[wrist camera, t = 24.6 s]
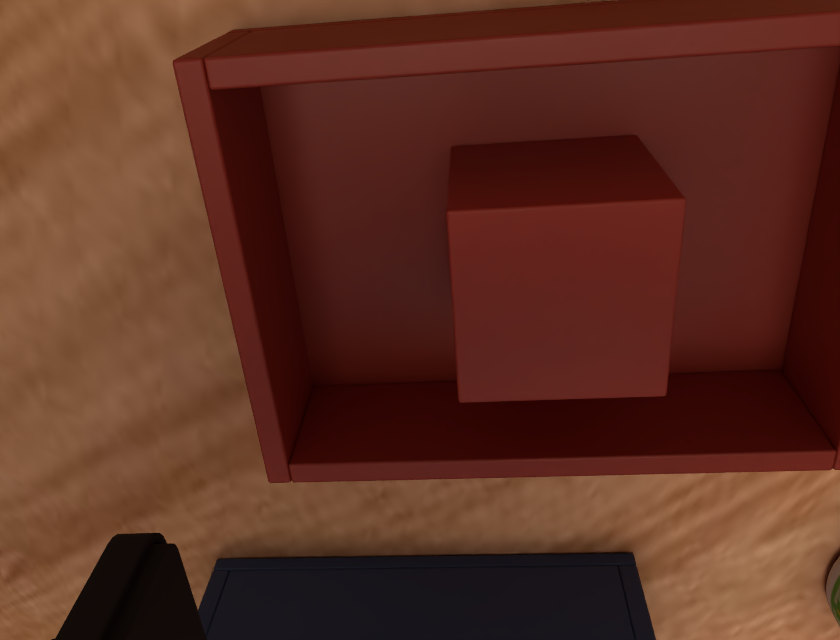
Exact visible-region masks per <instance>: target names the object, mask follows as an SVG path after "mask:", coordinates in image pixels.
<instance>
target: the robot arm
mask: <svg viewBox="0 0 840 640" xmlns="http://www.w3.org/2000/svg"><path fill="white" fill-rule="evenodd" d="M52 640H207V639H206V636H205V632H204V629H203V626H202V623H201V620H200V617H199V613H198V610H197V607H196V604H195V601H194V598H193V594H192V591H191V588H190V585H189V582H188V579H187V575H186V572H185V569H184V566H183V563H182V560H181V557H180V553H179V550H178V548H177V546H176V545H175V544H167V543H166V540H165V538H164V536H163V535H162V534H160V533H136V534H117V535H115V536H114V537H112V539H111V540H110V541H109V543H108V544H107V546H106V548H105V550H104V552H103V554H102V555H101V557H100V559H99V561H98V563H97V564H96V566H95V568H94V570H93V572H92V573H91V575H90V577H89V579H88V581H87V582H86V584H85V586H84V588H83V590H82V591H81V593H80V595H79V597H78V599H77V600H76V602H75V604H74V606H73V608H72V609H71V611H70V613H69V615H68V617H67V618H66V620H65V622H64V624H63V626H62V627H61V629H60V631H59V633H58V635H57V636H56V638H55V639H52Z"/></svg>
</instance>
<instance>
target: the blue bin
mask: <svg viewBox="0 0 840 640" xmlns="http://www.w3.org/2000/svg"><path fill="white" fill-rule="evenodd" d="M198 613H199V617H200V620H201V623H202V626H203V629H204V632H205V636H206V639H207V640H656V638H655V634H654V631H653V627H652V623H651V619H650V615H649V612H648V608H647V604H646V600H645V596H644V592H643V589H642V585H641V581H640V577H639V573H638V570H637V567H636V562H635V558H634V555H633V554H632V553H617V554H545V555H474V556H403V557H332V558H260V559H218V560H217V562H216V564H215V567H214V571H213V573H212V575H211V578H210V580H209V583H208V586H207V588H206V591H205V593H204V596H203V599H202V601H201V604H200V606H199V609H198Z"/></svg>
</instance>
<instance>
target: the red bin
mask: <svg viewBox="0 0 840 640" xmlns="http://www.w3.org/2000/svg"><path fill="white" fill-rule="evenodd" d="M173 67H174V72H175V76H176V80H177V85H178V89H179V93H180V98H181V102H182V106H183V111H184V115H185V120H186V124H187V128H188V133H189V137H190V141H191V146H192V150H193V154H194V159H195V163H196V167H197V172H198V176H199V181H200V185H201V189H202V194H203V198H204V202H205V207H206V211H207V215H208V220H209V224H210V229H211V233H212V237H213V242H214V246H215V250H216V255H217V259H218V263H219V268H220V272H221V276H222V281H223V285H224V290H225V294H226V298H227V303H228V307H229V311H230V316H231V320H232V324H233V329H234V333H235V337H236V342H237V346H238V351H239V355H240V359H241V364H242V368H243V372H244V377H245V381H246V385H247V390H248V394H249V399H250V403H251V407H252V412H253V416H254V420H255V425H256V429H257V433H258V438H259V442H260V446H261V451H262V455H263V460H264V464H265V468H266V473H267V477H268V481H269V482H270V483H285V482H291V479H292V482H333V481H376V480H420V479H463V478H507V477H551V476H594V475H638V474H681V473H725V472H769V471H812V470H831V469H832V468H833V469H835V470H840V0H617V1H604V2H591V3H578V4H565V5H552V6H539V7H526V8H513V9H500V10H487V11H474V12H461V13H447V14H434V15H421V16H408V17H395V18H382V19H369V20H356V21H343V22H330V23H317V24H304V25H291V26H278V27H265V28H252V29H239V30H232V31H230V32H228V33H226V34H224V35H222V36H220V37H218V38H216V39H214V40H212V41H210V42H208V43H206V44H204V45H202V46H200V47H198V48H196V49H195V50H193V51H191V52H189V53H187V54H185V55H183V56H181V57H179V58H177V59H175V60H173ZM632 135H636V136H638V137H639V138H640V140H641V141H642V142H643V144H644V145H645V146H646V147H647V149H648V150H649V151H650V153H651V154H652V155H653V157H654V158H655V159H656V160H657V162H658V163H659V164H660V166H661V167H662V168H663V170H664V171H665V172H666V173H667V175H668V176H669V177H670V179H671V180H672V181H673V182H674V184H675V185H676V186H677V188H678V189H679V190H680V192H681V193H682V194H683V195H684V197H685V198H686V209H685V219H684V228H683V238H682V248H681V258H680V268H679V277H678V287H677V297H676V307H675V317H674V326H673V336H672V346H671V356H670V366H669V376H668V385H667V394H666V396H655V397H624V398H592V399H561V400H530V401H499V402H467V403H461V402H459V400H458V390H457V374H456V359H455V343H454V327H453V312H452V296H451V280H450V265H449V249H448V233H447V217H446V209H447V194H448V178H449V163H450V149H451V147H453V146H470V145H486V144H502V143H518V142H535V141H551V140H567V139H583V138H600V137H616V136H632Z"/></svg>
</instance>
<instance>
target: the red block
mask: <svg viewBox="0 0 840 640" xmlns="http://www.w3.org/2000/svg"><path fill="white" fill-rule="evenodd" d="M685 209H686V198H685V197H684V195H683V194H682V193H681V192H680V190H679V189H678V188H677V186H676V185H675V184H674V182H673V181H672V180H671V179H670V177H669V176H668V175H667V173H666V172H665V171H664V170H663V168H662V167H661V166H660V164H659V163H658V162H657V160H656V159H655V158H654V157H653V155H652V154H651V153H650V151H649V150H648V149H647V147H646V146H645V145H644V144H643V142H642V141H641V140H640V138H639V137H638V136H636V135H632V136H616V137H600V138H583V139H567V140H551V141H535V142H518V143H502V144H486V145H470V146H453V147H451V149H450V163H449V178H448V194H447V209H446V217H447V233H448V249H449V265H450V280H451V296H452V312H453V327H454V343H455V359H456V374H457V390H458V400H459V402H461V403H467V402H499V401H530V400H561V399H592V398H624V397H655V396H666V394H667V385H668V376H669V366H670V356H671V346H672V336H673V326H674V317H675V307H676V297H677V287H678V277H679V268H680V258H681V248H682V238H683V228H684V219H685Z"/></svg>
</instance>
